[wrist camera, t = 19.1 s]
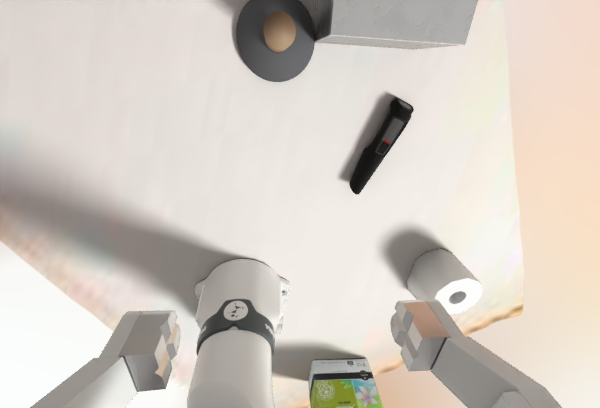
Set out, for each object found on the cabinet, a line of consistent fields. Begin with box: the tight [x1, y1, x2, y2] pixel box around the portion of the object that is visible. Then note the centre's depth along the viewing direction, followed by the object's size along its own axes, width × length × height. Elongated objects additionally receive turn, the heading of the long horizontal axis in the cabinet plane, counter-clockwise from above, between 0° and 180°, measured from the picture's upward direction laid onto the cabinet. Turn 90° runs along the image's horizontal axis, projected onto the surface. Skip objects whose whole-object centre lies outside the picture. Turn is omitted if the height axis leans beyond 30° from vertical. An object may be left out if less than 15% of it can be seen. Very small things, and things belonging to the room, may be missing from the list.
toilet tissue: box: [407, 248, 483, 315], centre depth 54 cm, size 9×13×9 cm
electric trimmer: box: [350, 97, 414, 194], centre depth 42 cm, size 4×16×3 cm, turn 154°
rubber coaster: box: [236, 0, 315, 82], centre depth 35 cm, size 10×10×1 cm
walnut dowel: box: [263, 11, 296, 53], centre depth 30 cm, size 3×3×11 cm
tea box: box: [308, 358, 383, 408], centre depth 65 cm, size 15×10×15 cm
